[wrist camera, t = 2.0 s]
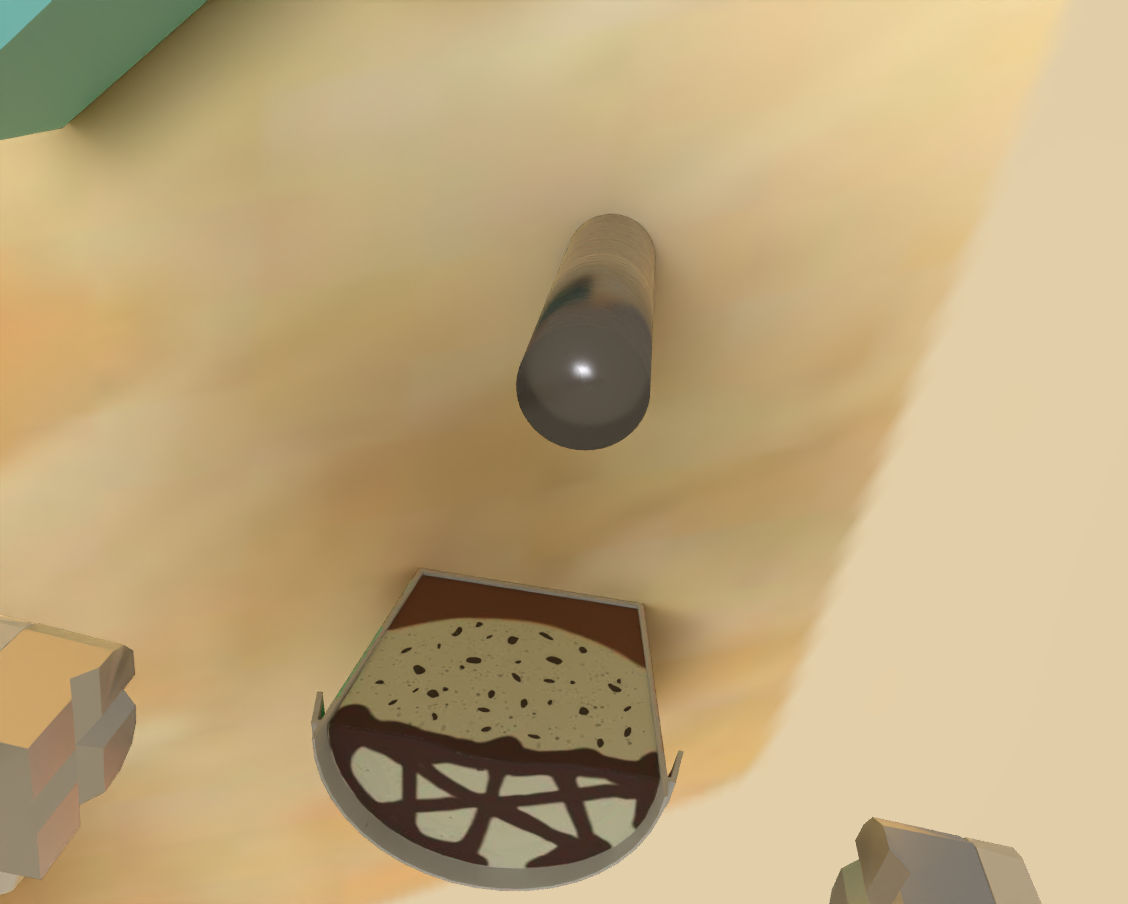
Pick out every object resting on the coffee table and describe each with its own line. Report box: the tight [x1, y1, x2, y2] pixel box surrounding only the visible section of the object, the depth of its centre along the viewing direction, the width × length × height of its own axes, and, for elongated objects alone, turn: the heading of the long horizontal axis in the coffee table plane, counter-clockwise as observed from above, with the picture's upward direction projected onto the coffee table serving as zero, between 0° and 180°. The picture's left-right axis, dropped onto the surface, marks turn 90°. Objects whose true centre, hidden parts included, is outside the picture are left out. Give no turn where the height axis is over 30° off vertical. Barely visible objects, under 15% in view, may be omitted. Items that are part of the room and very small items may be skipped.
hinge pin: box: [516, 214, 655, 450], centre depth 26 cm, size 3×3×12 cm
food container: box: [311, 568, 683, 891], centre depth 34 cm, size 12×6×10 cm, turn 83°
